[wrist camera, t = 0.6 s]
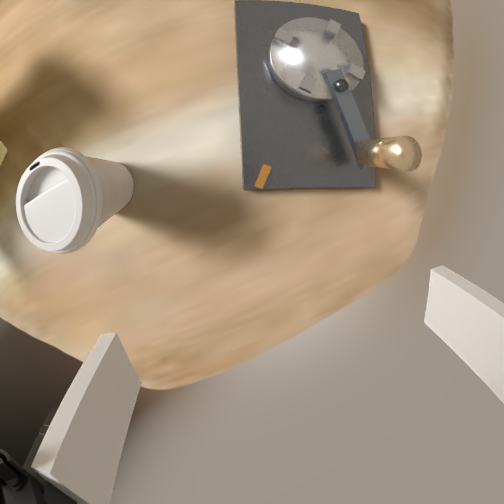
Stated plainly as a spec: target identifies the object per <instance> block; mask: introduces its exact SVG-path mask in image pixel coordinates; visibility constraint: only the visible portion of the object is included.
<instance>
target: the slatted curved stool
mask: <svg viewBox="0 0 504 504" xmlns="http://www.w3.org/2000/svg"><path fill="white" fill-rule="evenodd" d="M7 151H8V150H7V149H6V147H5V146H4V144H3V143H2V142H1V140H0V166H1V164H2V161H3V159H4V157H5V155H6V153H7Z"/></svg>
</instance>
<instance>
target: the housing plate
mask: <svg viewBox="0 0 504 504" xmlns="http://www.w3.org/2000/svg"><path fill="white" fill-rule="evenodd" d="M305 17H311V18H318V19H323V20H326V21H329V20H330V19H332V20H334V21H336V22H337V23H339V24H341V26H340V28H342V29H343V30H344V31H345V32H347V33H348V34H349V35H350V36H351V37H352V38H353V40H354V41H355V42H356V44H357V46H358V47H359V49H360V52H361V54H362V58H363V65H364V69H363V70H365V74H364V77H363V79H362V80H361V81H360V82H359V83H358V85H357V86H356V87H355V88H354V89H353V90H352V91H351V92H352V95H353V97H354V100H355V102H356V104H357V107H358V109H359V112H360V114H361V117H362V119H363V122H364V125H365V127H366V130H367V133H368V136H369V138H370V139H375V130H374V114H373V102H372V92H371V83H370V74H369V67H368V60H367V54H366V47H365V42H364V36H363V31H362V26H361V21H360V17H359V13H355V12H350V11H346V10H341V9H336V8H330V7H324V6H318V5H311V4H303V3H293V2H281V1H261V0H235V30H236V53H237V75H238V96H239V117H240V137H241V157H242V176H243V189H244V190H259V189H281V188H320V187H366V188H376V167H367V168H364V169H360V168H359V167H358V164H357V161H356V158H355V156H354V153H353V150H352V147H351V144H350V142H349V139H348V136H347V133H346V131H345V128H344V126H343V123H342V121H341V118H340V116H339V113H338V111H337V108H336V106H335V104H334V101H330V102H325V103H313V102H308V101H304V100H301V99H299V98H296V97H294V96H292V95H291V94H289V93H288V92H286V91H285V90H284V89H283V88H282V87H281V86H280V85H279V84H278V83H277V82H276V80H275V79H274V77H273V76H272V74H271V72H270V69H269V65H268V51H269V48H270V45H271V43H272V40H273V38H274V36H275V34H276V32H277V31H278V29H279V28H280V27H281V26H283V25H284V24H285V23H287V22H289V21H291V20H294V19H298V18H305Z"/></svg>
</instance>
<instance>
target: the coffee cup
mask: <svg viewBox="0 0 504 504" xmlns="http://www.w3.org/2000/svg"><path fill="white" fill-rule="evenodd" d="M133 190H134V182H133V178H132V175H131V173H130V171H129V170H128V169H127V168H126V167H125V166H124V165H122V164H120V163H117V162H112V161H107V160H102V159H97V158H91V157H86V156H84V155H83V154H81V153H80V152H78V151H76V150H74V149H71V148H66V147H59V148H54V149H51V150H49V151H47V152H45V153H43V154H42V155H40V156H39V157H38V158H37V159H36V160H35V161H34V162H33V163H32V164H31V165H30V166H29V167H28V168H27V169H26V171H25V172H24V174H23V175H22V177H21V179H20V182H19V185H18V188H17V194H16V212H17V217H18V221H19V224H20V226H21V229H22V231H23V232H24V234H25V236H26V237H27V238H28V240H29V241H30V242H31V243H32V244H34V245H35V246H36V247H38V248H40V249H42V250H45V251H49V252H52V253H58V254H65V253H71V252H75V251H77V250H79V249H81V248H82V247H84V246H85V245H86V244H87V243H88V242H89V241H90V240H91V238H92V237H93V235H94V234H95V232H96V230H97V228H98V227H99V226H101V225H102V224H103V223H104V222H106V221H107V220H108V219H109V218H111V217H112V216H113V215H114V214H116V213H117V212H118V211H120V210H121V209H122V208H124V207H125V206H126V205H127V204H128V202H129V201H130V199H131V197H132V195H133Z"/></svg>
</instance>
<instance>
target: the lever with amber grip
mask: <svg viewBox="0 0 504 504" xmlns="http://www.w3.org/2000/svg"><path fill="white" fill-rule="evenodd" d="M340 26H341V24H339V23H337V22H336V21H334V20H332V19H330V20H329V21H326V20H323V19H318V18H311V17H305V18H298V19H294V20H291V21H289V22H287V23H285V24H284V25H283V26H281V27H280V28H279V29H278V31H277V32H276V34H275V36H274V38H273V40H272V43H271V45H270V48H269V51H268V65H269V69H270V72H271V74H272V76H273V77H274V79H275V80H276V82H277V83H278V84H279V85H280V86H281V87H282V88H283V89H284V90H285V91H286V92H288V93H289V94H291V95H292V96H294V97H296V98H299V99H301V100H304V101H308V102H313V103H325V102H330V101H334V104H335V106H336V108H337V111H338V113H339V116H340V118H341V121H342V123H343V126H344V128H345V131H346V133H347V136H348V139H349V142H350V144H351V147H352V150H353V153H354V156H355V158H356V161H357V164H358V167H359V168H360V169H364V168H367V167H377V168H389V169H399V170H408V171H412V170H414V169H416V168H417V167H418V166H419V164H420V162H421V157H422V154H421V149H420V146H419V144H418V142H417V141H416V140H415V139H414V138H412V137H410V136H401V137H389V138H379V139H370V138H369V136H368V133H367V130H366V127H365V125H364V122H363V119H362V117H361V114H360V112H359V109H358V107H357V104H356V102H355V100H354V97H353V95H352V92H351V91H352V90H353V89H354V88H355V87H356V86H357V85H358V83H359V82H360V81H361V80H362V79H363V77H364V74H365V70H363V69H364V65H363V58H362V54H361V52H360V49H359V47H358V46H357V44H356V42H355V41H354V40H353V38H352V37H351V36H350V35H349V34H348V33H347V32H345V31H344V30H343V29H342V28H340Z"/></svg>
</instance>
